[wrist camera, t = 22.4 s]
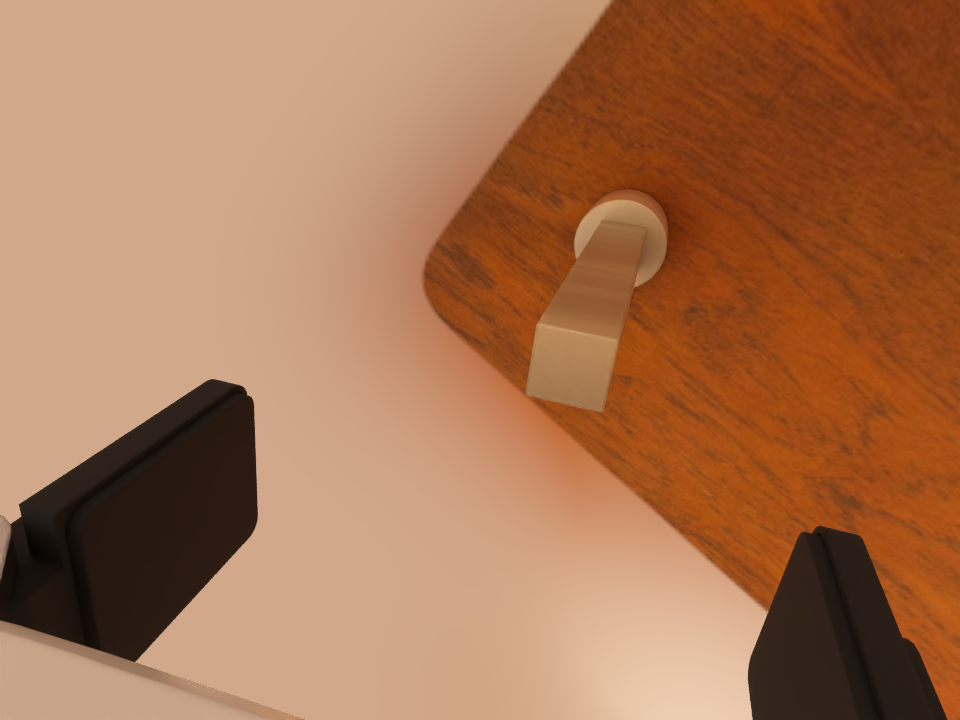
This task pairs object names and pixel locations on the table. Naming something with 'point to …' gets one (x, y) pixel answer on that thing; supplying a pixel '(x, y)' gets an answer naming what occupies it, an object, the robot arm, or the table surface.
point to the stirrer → (596, 299)
